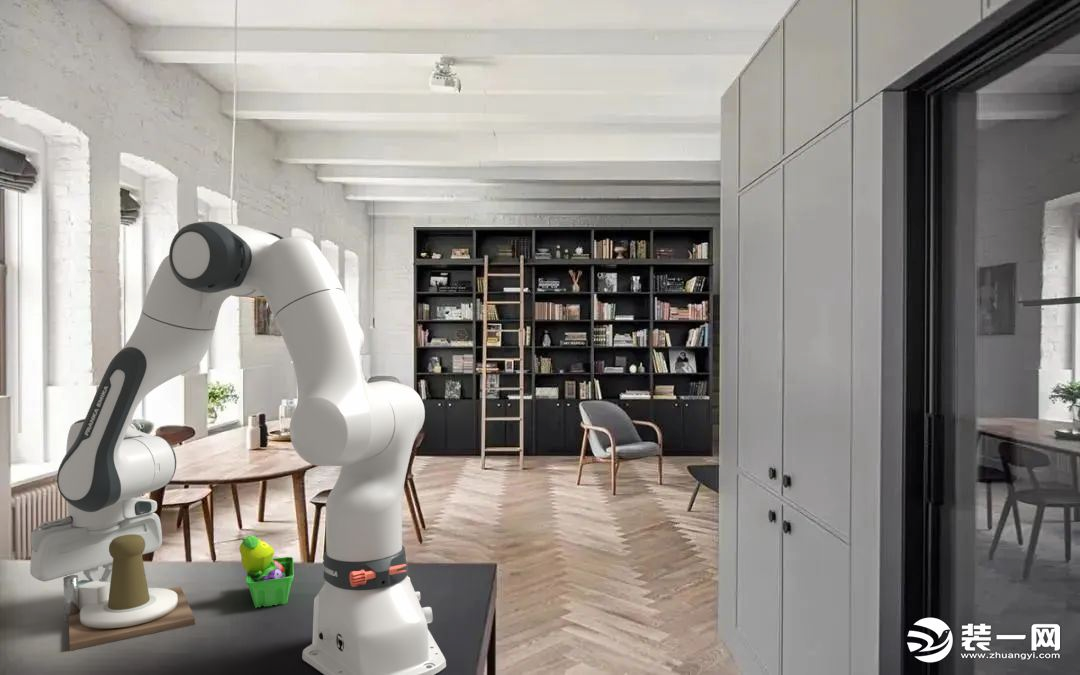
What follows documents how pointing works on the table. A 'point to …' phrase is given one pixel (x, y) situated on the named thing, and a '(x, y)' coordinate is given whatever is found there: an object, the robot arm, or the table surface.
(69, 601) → the dowel
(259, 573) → the fruit basket
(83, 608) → the white oval plate
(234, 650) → the table surface
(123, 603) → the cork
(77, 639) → the wooden board
